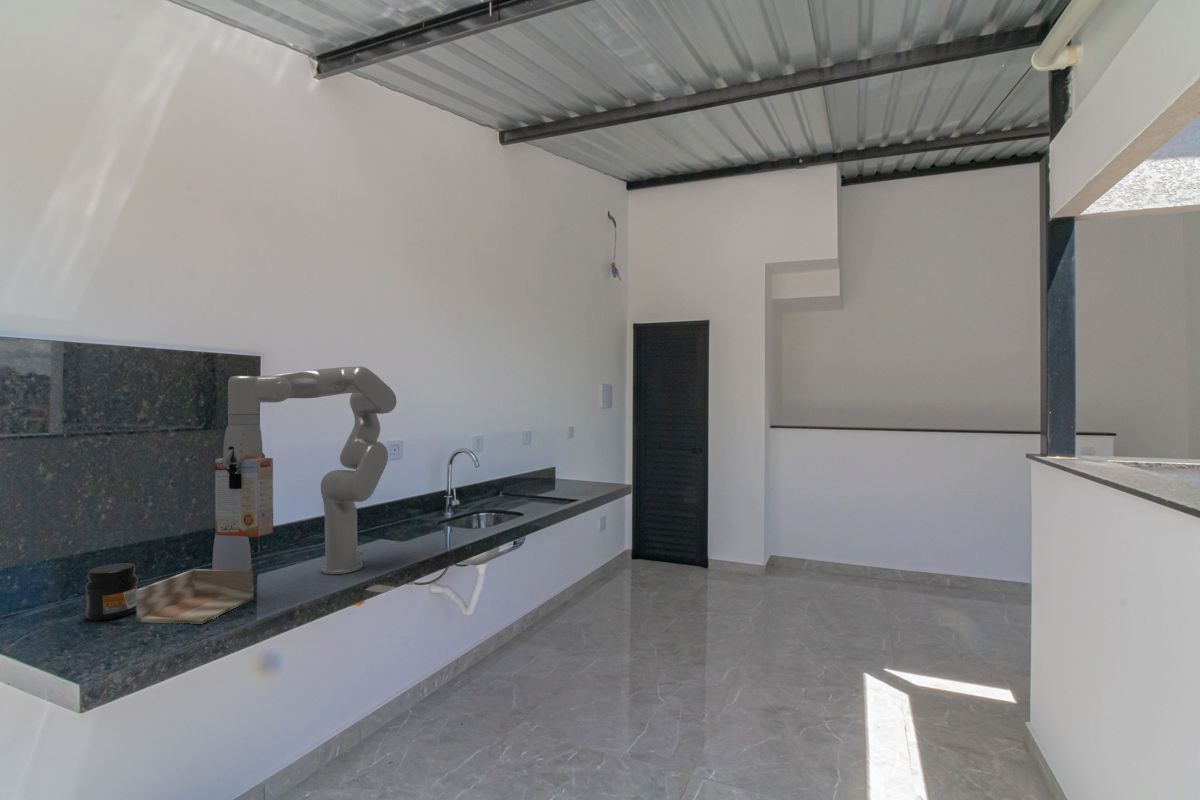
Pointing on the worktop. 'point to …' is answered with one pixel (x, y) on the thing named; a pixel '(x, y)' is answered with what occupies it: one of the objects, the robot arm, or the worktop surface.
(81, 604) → the worktop surface
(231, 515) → the cracker box
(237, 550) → the soap bottle
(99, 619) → the supplement container
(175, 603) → the beige tray
